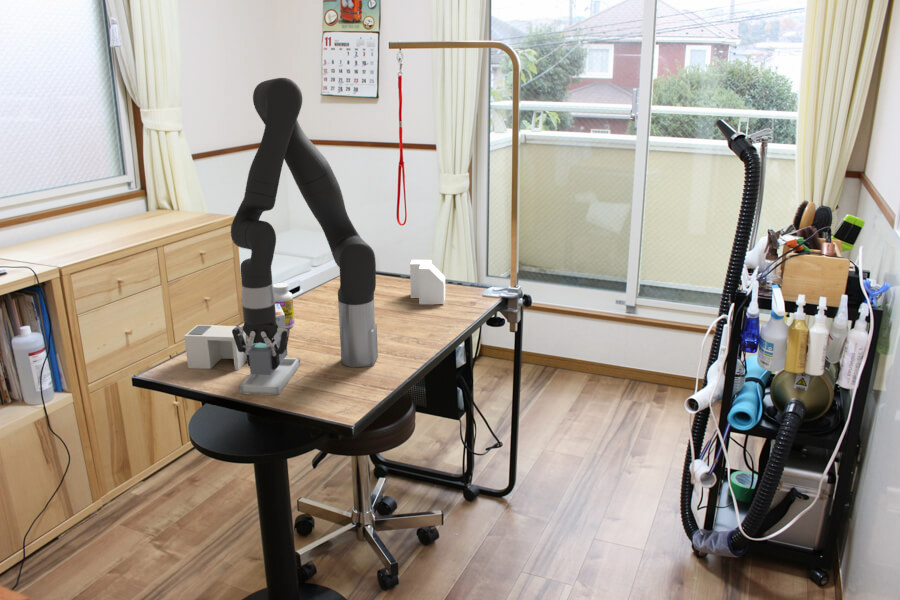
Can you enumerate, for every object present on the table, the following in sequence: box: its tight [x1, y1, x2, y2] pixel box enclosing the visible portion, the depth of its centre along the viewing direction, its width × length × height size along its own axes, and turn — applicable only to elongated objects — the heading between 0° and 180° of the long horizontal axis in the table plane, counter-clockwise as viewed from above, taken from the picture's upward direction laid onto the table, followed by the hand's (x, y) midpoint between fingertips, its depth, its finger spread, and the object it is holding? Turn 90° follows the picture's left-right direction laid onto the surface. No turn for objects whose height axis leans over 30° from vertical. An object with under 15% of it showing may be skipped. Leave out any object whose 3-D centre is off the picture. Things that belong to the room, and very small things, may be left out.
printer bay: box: [183, 324, 249, 371], centre depth 195 cm, size 14×8×9 cm, turn 85°
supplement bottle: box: [273, 282, 295, 329], centre depth 221 cm, size 7×7×13 cm
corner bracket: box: [409, 259, 446, 305], centre depth 244 cm, size 11×11×12 cm
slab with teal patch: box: [249, 333, 288, 375], centre depth 185 cm, size 5×13×6 cm, turn 174°
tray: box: [239, 356, 301, 396], centre depth 187 cm, size 10×18×2 cm, turn 175°
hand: (263, 367), depth 182 cm, fingers closed on slab with teal patch, 5 cm apart
